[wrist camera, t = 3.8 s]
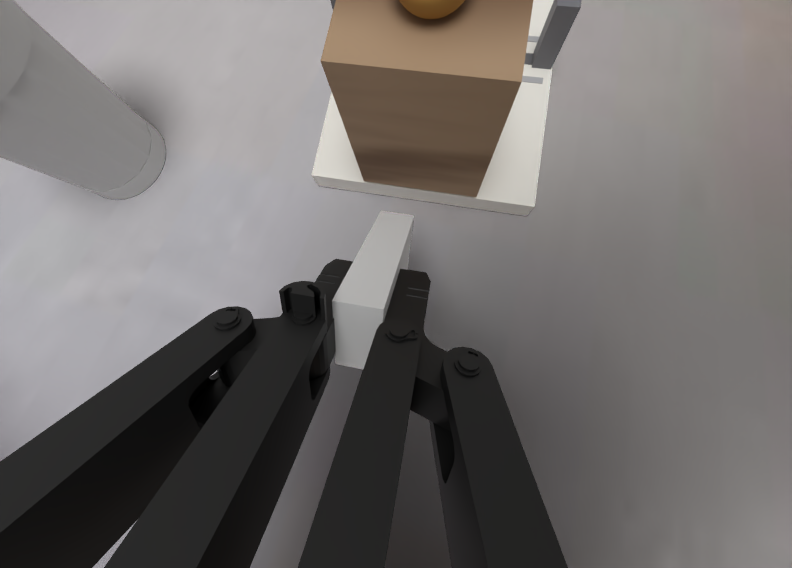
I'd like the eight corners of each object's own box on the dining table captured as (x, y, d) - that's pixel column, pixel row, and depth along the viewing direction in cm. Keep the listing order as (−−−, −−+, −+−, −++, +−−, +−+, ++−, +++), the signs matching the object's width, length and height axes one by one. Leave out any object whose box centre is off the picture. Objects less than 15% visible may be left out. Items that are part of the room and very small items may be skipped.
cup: (175, 101, 25) (-52, -119, 13) (177, 200, 23) (-75, 56, 11) (75, 120, 25) (-235, -77, 13) (71, 218, 24) (-279, 97, 12)
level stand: (526, 216, 21) (563, 173, 16) (318, 185, 23) (286, 137, 17) (560, -40, 24) (600, -150, 19) (374, -53, 26) (362, -158, 20)
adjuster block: (476, 197, 20) (554, -2, 8) (363, 181, 20) (291, -22, 9) (490, 108, 21) (578, -182, 9) (382, 96, 21) (337, -187, 10)
